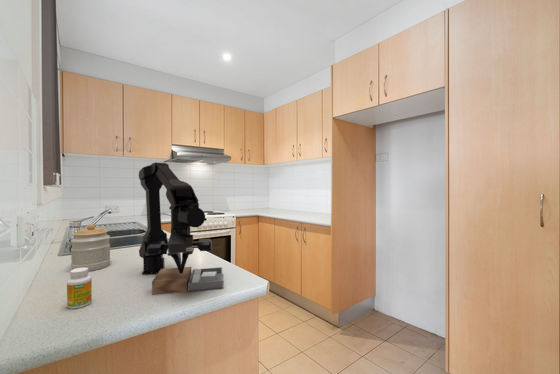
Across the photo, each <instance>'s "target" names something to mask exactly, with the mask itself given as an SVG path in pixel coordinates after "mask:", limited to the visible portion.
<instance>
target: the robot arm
mask: <svg viewBox="0 0 560 374" xmlns="http://www.w3.org/2000/svg"><path fill="white" fill-rule="evenodd" d="M138 179H139V180H140V181H139V182H140V186H141V187H142V188H143V189H144V191H145V201H146V204H145V207H146V225H147V227H146V228H147V230H146V232H145V233H144V235H143V237H142V243H141V244H140V247H139V250H138V253H139V255H138V256H139V257H140V258H142V260H143V271H142V273H141V274H142V275H152V274H158V272H159V271H160V270H161V269H166V268H165V257H164V255H167V256H168V257H171V258H172V260H173V261H174V262H175V264H176V268H178V270H179V273H180V274H181V273H183V270H184V267H186V263H187V262H188V261H187V260H188V259H189V256H190V255H192V254H193V253H194V251H195V249H198V251H200V252H208V251H212V243H213V241H212V239H211V238H199V240H198V241H195V242H194V234H191V228H199V227H201V226H202V225H203V224H204V223H205V220H206V215H205V212H204V211H203V210H202V208H200V204H199V199H198V197H197V195H196V193H195V191H194V188H193V187H192V186H191V184H189V183H188V182H185V181H183V180H180V179H179V178H178V177H177V175H176V174H175V173H174V172H173V170H172V169H171V168H170V165H169V164H168V163H166V162H153V163H151V164H149V165H146V166H144V167H142V168H141V169H140V170H139V171H138ZM163 186H164V188H165V189H166V192H165V197H166V199H167V201H168V202H169V204H170V206H169V207H168V209H169V210H170V236H169V238H168V235H167V232H165V231H164V230H163V228H162V217H161V215H162V213H161V197H160V196H161V195H160V194H161V193H160V190H161V189H162V187H163Z"/></svg>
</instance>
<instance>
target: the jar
mask: <svg viewBox="0 0 560 374" xmlns="http://www.w3.org/2000/svg"><path fill="white" fill-rule="evenodd" d="M108 231H109V230H107V229H105V228H103V227H96V226H95V224H94V223H89V224H88V225H87V226H86V228H84V229H83V228H82V229H79V230H77V231H76V232H74V233H73V236H74V237H73V238H72V239H70V242H71V243H72V245H71V248H70V251H71V262H70V268H71V270H73V269H77V268H88V272H93V271H97V270H102V269H105V268H107V267H109V266H110V265H111V262H112V261H111V243H110V241H109V240H110V238H111V235H110V234H108Z"/></svg>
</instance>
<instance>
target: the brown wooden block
mask: <svg viewBox="0 0 560 374" xmlns="http://www.w3.org/2000/svg"><path fill="white" fill-rule="evenodd" d="M191 273H192V266H185V267H184V270H183V273H181V274H180V273H179V270H178V268H177V267H169V268H164V269H161V270H160V271H159V272H158V273H156V275H155V276H154V278H153V279H152V281H151V294H152V296H153V295H162V294H163V295H166V294H172V293H173V294H174V293H175V292H176V293H183V292H188V282H189V279H190V276H191Z"/></svg>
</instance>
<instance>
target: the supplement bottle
mask: <svg viewBox="0 0 560 374" xmlns="http://www.w3.org/2000/svg"><path fill="white" fill-rule="evenodd" d="M69 276H70V278H68V280H67V281H66V305H67V308H68V309H72V310H73V309H80V308H83V307H86V306H89V305H90V304H91V303H92V294H93V293H92V288H93V287H92V276H91V275H89V271H88V268H77V269H73V270H72V269H70V270H69Z"/></svg>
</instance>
